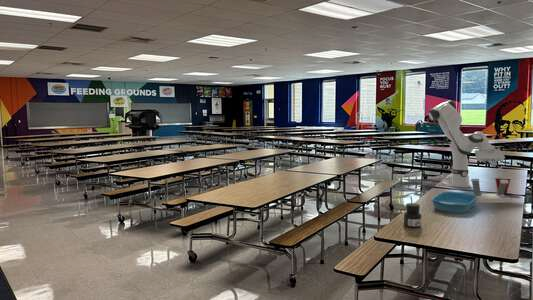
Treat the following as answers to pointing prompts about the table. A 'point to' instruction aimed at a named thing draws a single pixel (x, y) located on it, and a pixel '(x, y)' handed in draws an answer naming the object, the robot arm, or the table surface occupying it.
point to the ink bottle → (412, 216)
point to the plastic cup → (502, 179)
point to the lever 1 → (476, 187)
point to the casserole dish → (454, 202)
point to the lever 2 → (502, 187)
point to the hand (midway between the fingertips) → (494, 165)
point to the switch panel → (492, 199)
